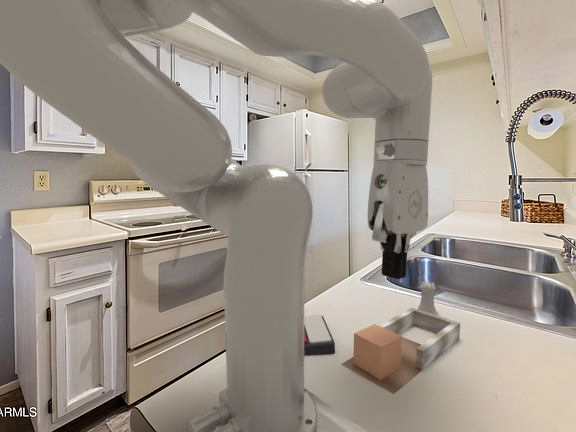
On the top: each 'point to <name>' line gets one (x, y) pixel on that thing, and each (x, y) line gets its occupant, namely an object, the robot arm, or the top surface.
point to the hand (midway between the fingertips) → (393, 276)
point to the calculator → (317, 336)
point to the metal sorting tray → (414, 347)
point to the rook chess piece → (427, 298)
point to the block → (377, 351)
